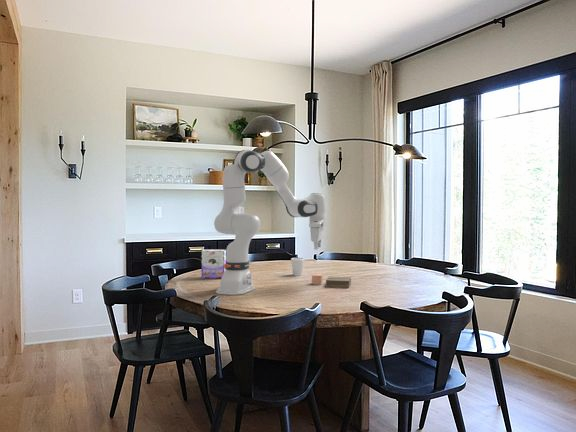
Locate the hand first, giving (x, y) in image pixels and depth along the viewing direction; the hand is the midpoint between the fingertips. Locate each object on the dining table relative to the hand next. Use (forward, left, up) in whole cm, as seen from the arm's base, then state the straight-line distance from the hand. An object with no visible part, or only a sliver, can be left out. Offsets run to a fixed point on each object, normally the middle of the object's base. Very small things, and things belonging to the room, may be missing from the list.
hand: (317, 248), depth 256 cm
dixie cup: (+25, +16, -20) cm, 36 cm away
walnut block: (-2, -12, -20) cm, 23 cm away
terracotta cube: (0, 0, -20) cm, 20 cm away
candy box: (+5, +62, -20) cm, 65 cm away
